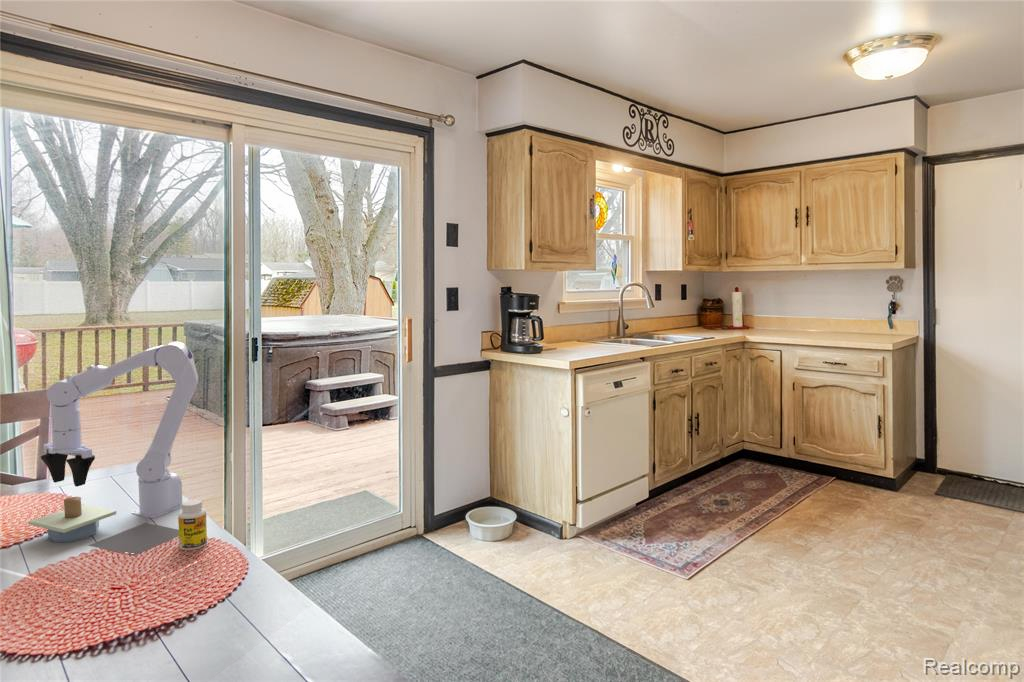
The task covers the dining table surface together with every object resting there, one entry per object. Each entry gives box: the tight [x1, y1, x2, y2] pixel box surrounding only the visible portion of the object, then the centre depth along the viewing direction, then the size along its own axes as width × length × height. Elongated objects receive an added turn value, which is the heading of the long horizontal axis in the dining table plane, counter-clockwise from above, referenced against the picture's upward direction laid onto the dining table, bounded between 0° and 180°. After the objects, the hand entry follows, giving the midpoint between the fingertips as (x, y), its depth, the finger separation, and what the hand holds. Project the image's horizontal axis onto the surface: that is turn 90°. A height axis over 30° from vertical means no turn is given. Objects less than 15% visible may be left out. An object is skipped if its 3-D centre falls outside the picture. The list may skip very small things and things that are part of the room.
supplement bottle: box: [177, 498, 208, 551], centre depth 137 cm, size 6×6×10 cm
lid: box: [27, 496, 117, 533], centre depth 142 cm, size 12×12×5 cm
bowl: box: [47, 520, 100, 543], centre depth 142 cm, size 9×9×4 cm
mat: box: [88, 522, 179, 557], centre depth 141 cm, size 14×14×1 cm
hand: (69, 483), depth 151 cm, fingers open, 7 cm apart
